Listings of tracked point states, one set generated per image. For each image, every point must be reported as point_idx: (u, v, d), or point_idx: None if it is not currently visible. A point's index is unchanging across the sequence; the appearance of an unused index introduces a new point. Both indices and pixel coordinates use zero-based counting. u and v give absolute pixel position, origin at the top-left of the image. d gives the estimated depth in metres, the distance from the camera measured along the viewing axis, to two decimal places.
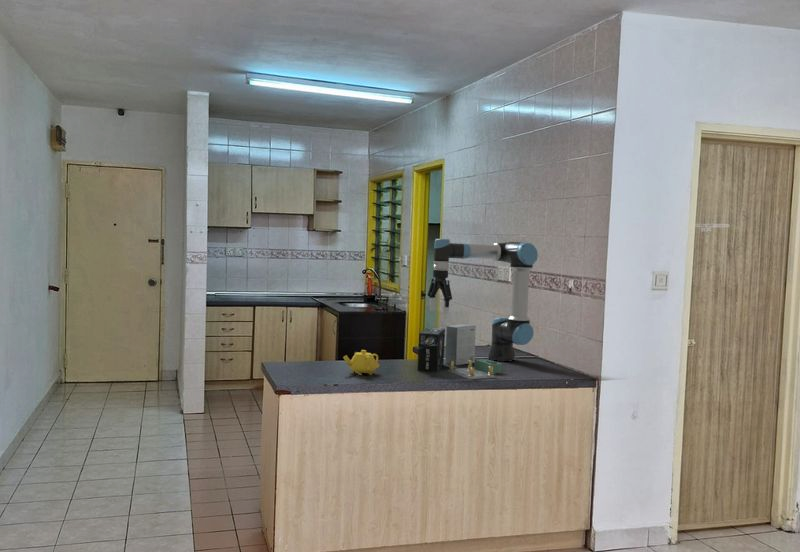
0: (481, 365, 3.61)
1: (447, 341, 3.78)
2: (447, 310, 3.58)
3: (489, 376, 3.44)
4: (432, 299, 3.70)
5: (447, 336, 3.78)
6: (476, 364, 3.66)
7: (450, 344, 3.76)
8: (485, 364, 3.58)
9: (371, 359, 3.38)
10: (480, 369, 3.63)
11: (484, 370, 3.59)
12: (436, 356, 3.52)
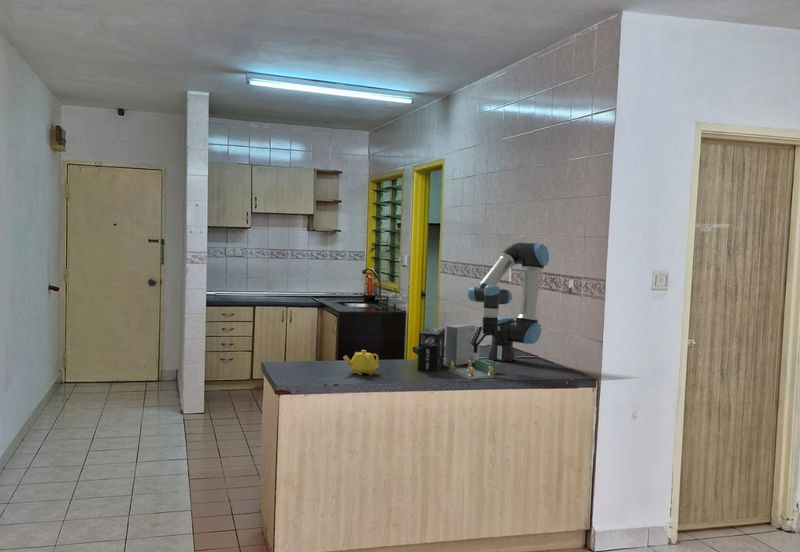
0: (481, 365, 3.62)
1: (447, 341, 3.78)
2: (476, 356, 3.58)
3: (489, 376, 3.44)
4: (498, 347, 3.65)
5: (447, 336, 3.78)
6: (476, 364, 3.66)
7: (450, 344, 3.76)
8: (484, 364, 3.58)
9: (371, 359, 3.38)
10: (479, 369, 3.63)
11: (483, 370, 3.59)
12: (436, 356, 3.52)
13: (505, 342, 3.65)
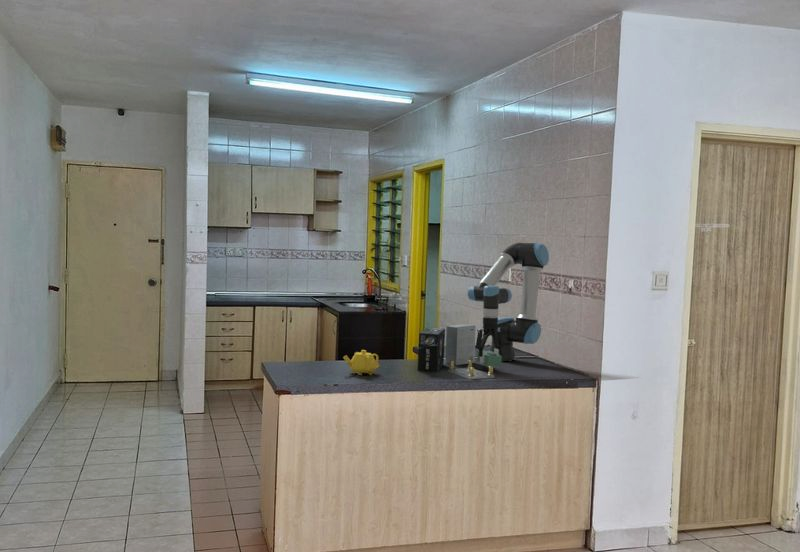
0: None
1: (447, 341, 3.78)
2: (482, 360, 3.60)
3: (489, 376, 3.44)
4: (495, 350, 3.65)
5: (447, 336, 3.78)
6: (478, 356, 3.67)
7: (450, 344, 3.76)
8: (485, 356, 3.59)
9: (371, 359, 3.38)
10: None
11: (484, 362, 3.60)
12: (436, 356, 3.52)
13: (502, 345, 3.64)
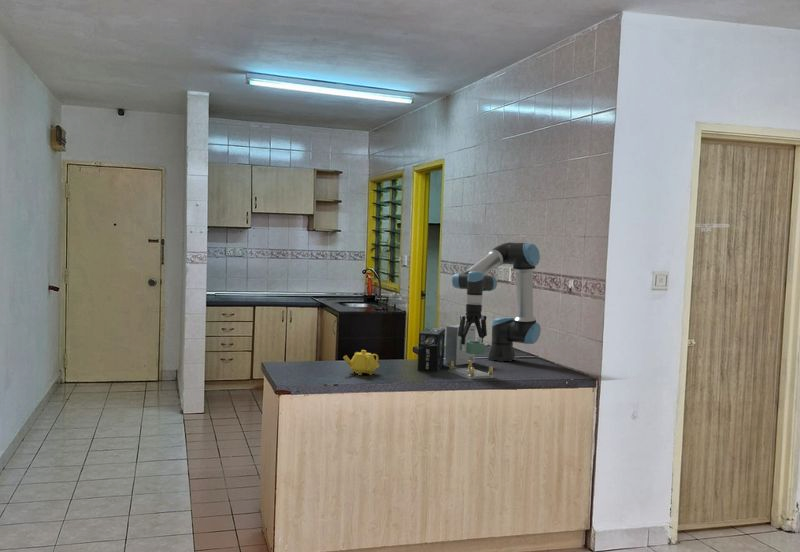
0: None
1: (447, 341, 3.78)
2: (464, 348, 3.47)
3: (489, 376, 3.44)
4: (478, 338, 3.52)
5: (447, 336, 3.78)
6: (461, 344, 3.54)
7: (450, 344, 3.76)
8: (467, 344, 3.46)
9: (371, 359, 3.38)
10: None
11: (466, 350, 3.47)
12: (436, 356, 3.52)
13: (485, 333, 3.52)
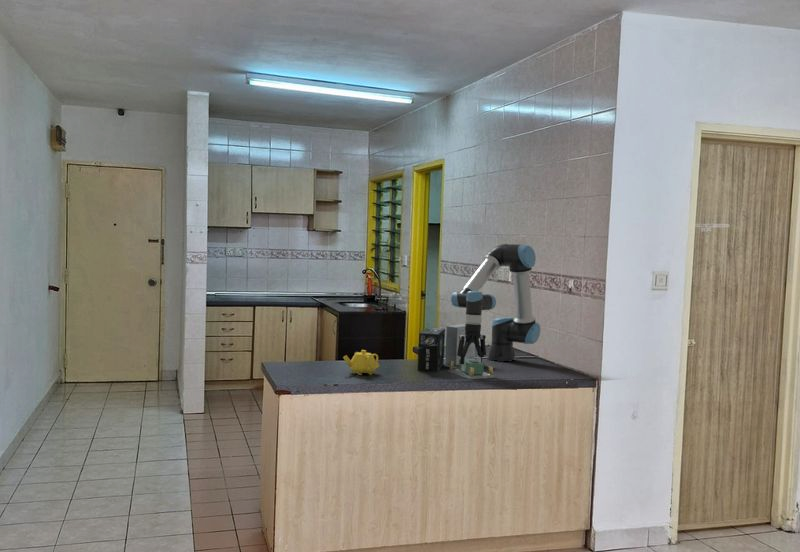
0: None
1: (447, 341, 3.78)
2: (463, 367, 3.48)
3: (489, 376, 3.44)
4: (477, 358, 3.52)
5: (447, 336, 3.78)
6: (460, 363, 3.55)
7: (450, 344, 3.76)
8: (466, 363, 3.47)
9: (371, 359, 3.38)
10: None
11: None
12: (436, 356, 3.52)
13: (484, 352, 3.52)
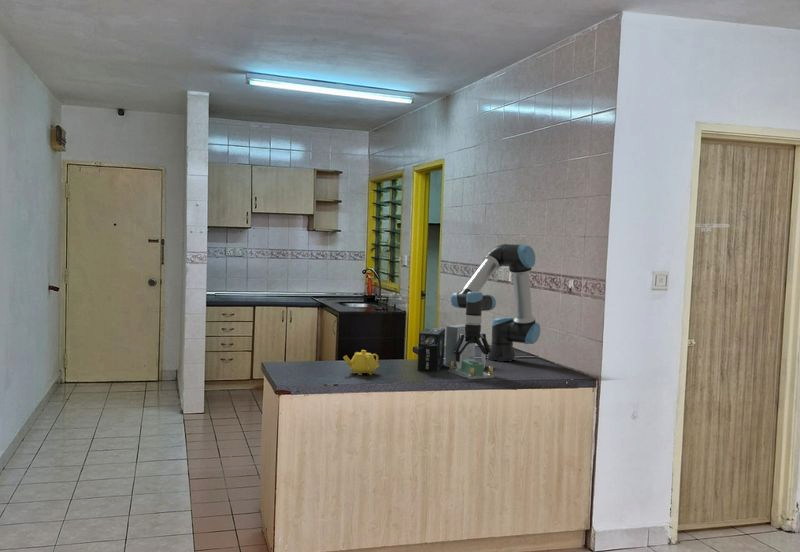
0: (463, 365, 3.50)
1: (447, 341, 3.78)
2: (459, 365, 3.47)
3: (489, 376, 3.44)
4: (482, 355, 3.54)
5: (447, 336, 3.78)
6: None
7: (450, 344, 3.76)
8: (466, 364, 3.47)
9: (371, 359, 3.38)
10: (462, 369, 3.51)
11: (465, 370, 3.48)
12: (436, 356, 3.52)
13: (489, 350, 3.53)
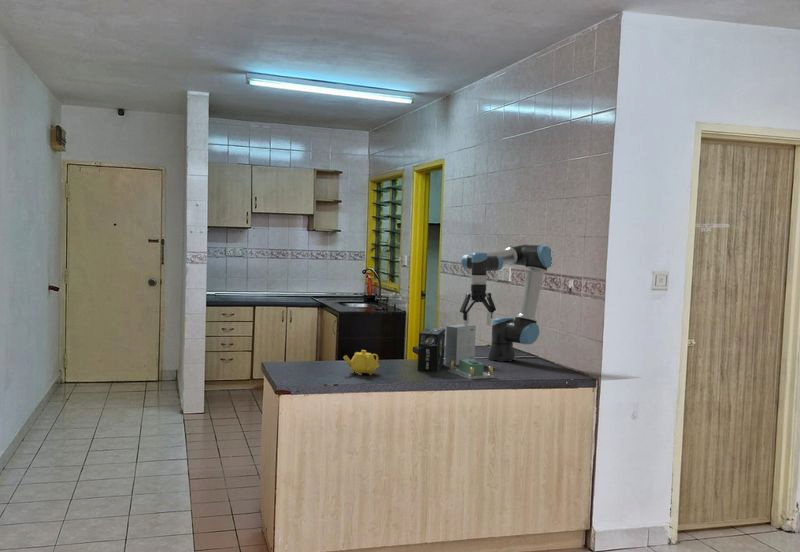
0: (463, 365, 3.50)
1: (447, 341, 3.78)
2: (466, 323, 3.59)
3: (489, 376, 3.44)
4: (488, 313, 3.67)
5: (447, 336, 3.78)
6: (460, 364, 3.55)
7: (450, 344, 3.76)
8: (466, 364, 3.47)
9: (371, 359, 3.38)
10: (462, 369, 3.51)
11: (465, 370, 3.48)
12: (436, 356, 3.52)
13: (494, 308, 3.66)
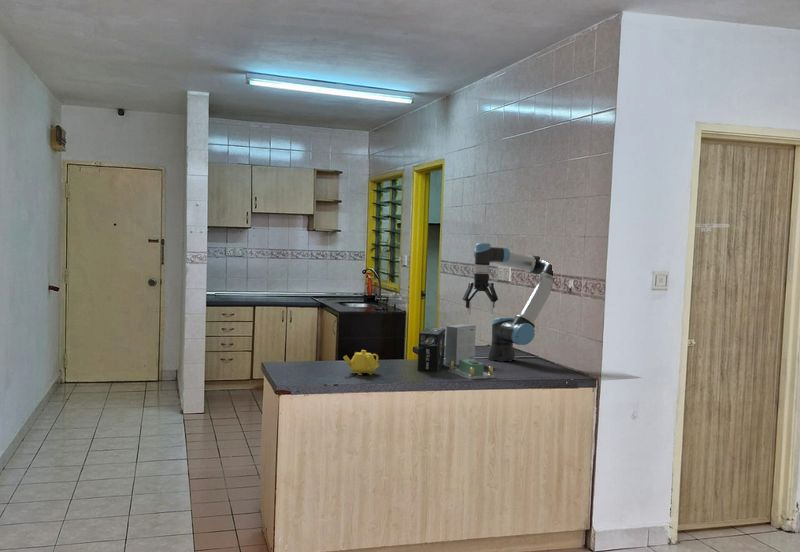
0: (463, 365, 3.50)
1: (447, 341, 3.78)
2: (468, 311, 3.71)
3: (489, 376, 3.44)
4: (490, 303, 3.78)
5: (447, 336, 3.78)
6: (460, 364, 3.55)
7: (450, 344, 3.76)
8: (466, 364, 3.47)
9: (371, 359, 3.38)
10: (462, 369, 3.51)
11: (465, 370, 3.48)
12: (436, 356, 3.52)
13: (496, 298, 3.78)
